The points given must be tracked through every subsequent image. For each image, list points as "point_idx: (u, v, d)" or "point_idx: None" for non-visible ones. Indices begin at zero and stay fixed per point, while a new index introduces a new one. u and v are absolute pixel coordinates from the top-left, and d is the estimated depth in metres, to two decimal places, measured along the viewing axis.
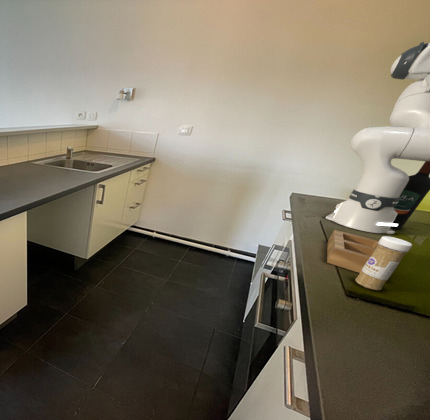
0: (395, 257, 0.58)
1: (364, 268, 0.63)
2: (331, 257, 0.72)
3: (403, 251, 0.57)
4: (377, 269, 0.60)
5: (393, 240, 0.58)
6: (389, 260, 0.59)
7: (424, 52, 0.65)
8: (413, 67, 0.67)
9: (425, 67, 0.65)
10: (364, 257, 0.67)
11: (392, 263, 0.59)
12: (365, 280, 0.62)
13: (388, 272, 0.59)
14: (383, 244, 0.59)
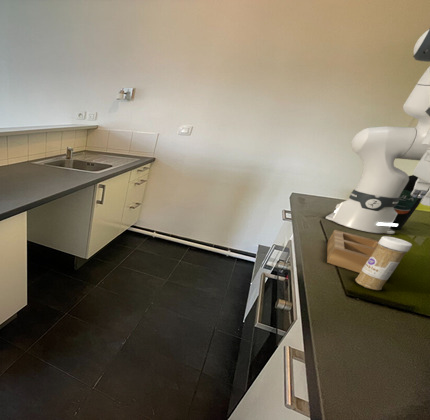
0: (395, 257, 0.58)
1: (364, 268, 0.63)
2: (331, 257, 0.72)
3: (403, 251, 0.57)
4: (377, 269, 0.60)
5: (393, 240, 0.58)
6: (389, 260, 0.59)
7: None
8: None
9: None
10: (364, 257, 0.67)
11: (392, 263, 0.59)
12: (365, 280, 0.62)
13: (388, 272, 0.59)
14: (383, 244, 0.59)
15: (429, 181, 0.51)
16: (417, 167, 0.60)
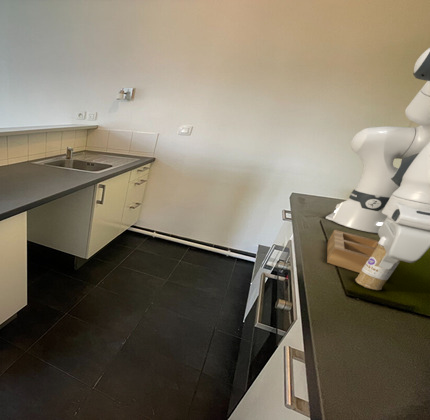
0: None
1: (364, 268, 0.63)
2: (331, 257, 0.72)
3: None
4: (377, 269, 0.60)
5: None
6: None
7: None
8: (418, 259, 0.51)
9: None
10: (364, 257, 0.67)
11: None
12: (365, 280, 0.62)
13: (388, 272, 0.59)
14: None
15: (386, 251, 0.56)
16: (381, 228, 0.65)
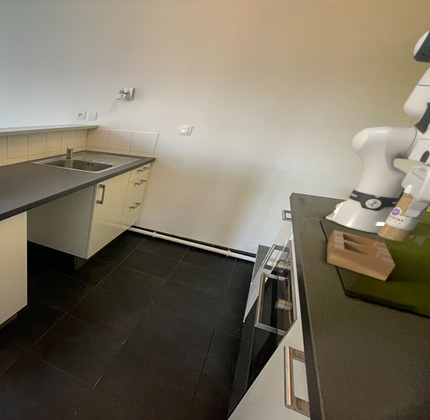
0: None
1: (388, 220, 0.60)
2: (331, 257, 0.72)
3: None
4: (402, 219, 0.58)
5: None
6: None
7: None
8: None
9: None
10: (364, 257, 0.67)
11: None
12: (389, 232, 0.60)
13: (414, 221, 0.57)
14: None
15: (413, 196, 0.54)
16: (405, 179, 0.62)
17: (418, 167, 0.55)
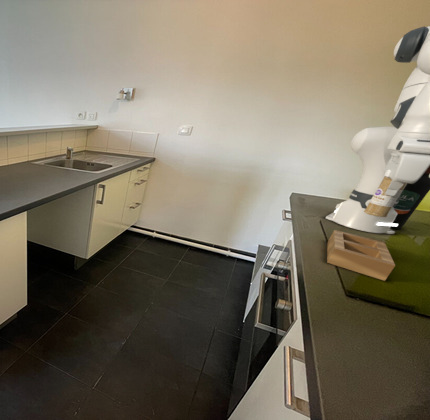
0: None
1: (372, 199, 0.73)
2: (331, 257, 0.72)
3: None
4: (383, 198, 0.70)
5: None
6: None
7: (429, 165, 0.60)
8: (418, 178, 0.61)
9: None
10: (364, 257, 0.67)
11: None
12: (373, 209, 0.72)
13: (393, 199, 0.69)
14: (388, 175, 0.69)
15: (391, 177, 0.66)
16: (386, 166, 0.75)
17: (395, 155, 0.67)
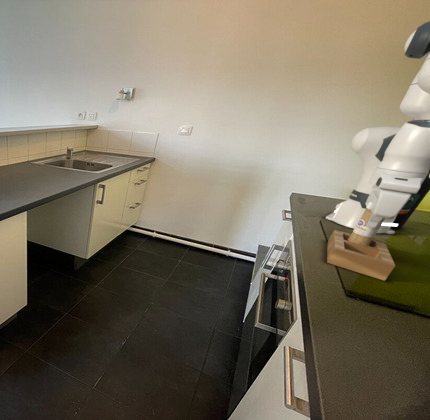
0: None
1: (355, 229, 0.77)
2: (331, 257, 0.72)
3: None
4: (365, 228, 0.74)
5: None
6: None
7: (405, 203, 0.64)
8: (395, 215, 0.65)
9: None
10: (364, 257, 0.67)
11: None
12: (356, 238, 0.76)
13: (374, 230, 0.73)
14: None
15: (371, 211, 0.70)
16: (369, 197, 0.78)
17: (375, 189, 0.71)
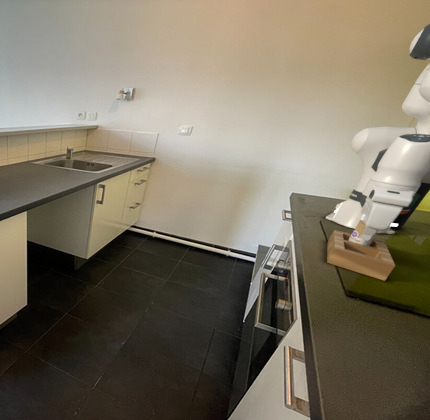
0: None
1: (349, 240, 0.78)
2: (331, 257, 0.72)
3: None
4: (359, 240, 0.75)
5: None
6: None
7: None
8: (387, 227, 0.66)
9: None
10: (364, 257, 0.67)
11: None
12: None
13: (367, 242, 0.75)
14: None
15: None
16: (363, 207, 0.80)
17: (369, 201, 0.73)
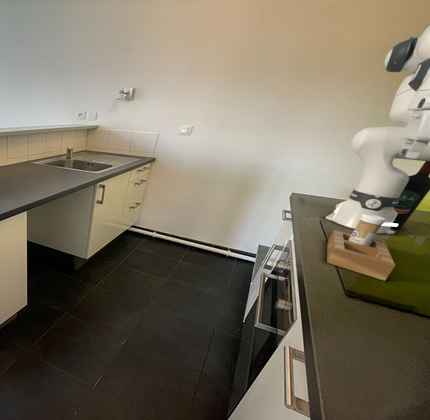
0: (372, 229, 0.73)
1: (349, 240, 0.78)
2: (331, 257, 0.72)
3: (378, 224, 0.72)
4: (359, 240, 0.75)
5: (371, 216, 0.73)
6: (368, 232, 0.74)
7: None
8: None
9: None
10: (364, 257, 0.67)
11: (370, 235, 0.74)
12: None
13: (367, 242, 0.75)
14: (363, 219, 0.74)
15: (412, 138, 0.64)
16: (405, 131, 0.72)
17: (416, 115, 0.65)
